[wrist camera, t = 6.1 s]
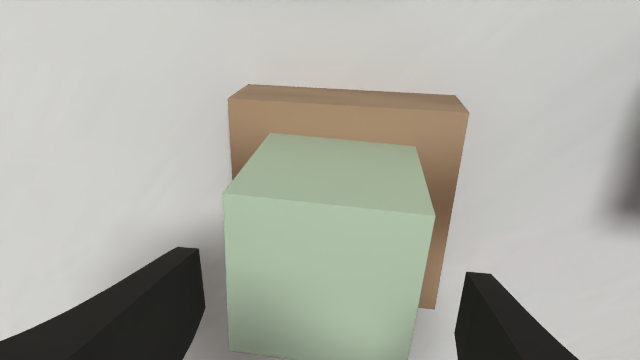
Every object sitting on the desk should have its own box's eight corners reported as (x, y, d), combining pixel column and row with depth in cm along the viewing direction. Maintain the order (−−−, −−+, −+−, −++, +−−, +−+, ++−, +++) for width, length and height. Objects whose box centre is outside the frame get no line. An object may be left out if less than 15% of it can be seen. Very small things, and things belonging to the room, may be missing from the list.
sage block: (396, 269, 16) (405, 375, 12) (268, 254, 17) (228, 350, 12) (415, 146, 14) (435, 215, 10) (270, 132, 15) (222, 193, 10)
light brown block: (426, 265, 19) (434, 309, 17) (257, 249, 20) (238, 289, 17) (453, 93, 16) (469, 112, 13) (251, 82, 17) (227, 98, 14)
